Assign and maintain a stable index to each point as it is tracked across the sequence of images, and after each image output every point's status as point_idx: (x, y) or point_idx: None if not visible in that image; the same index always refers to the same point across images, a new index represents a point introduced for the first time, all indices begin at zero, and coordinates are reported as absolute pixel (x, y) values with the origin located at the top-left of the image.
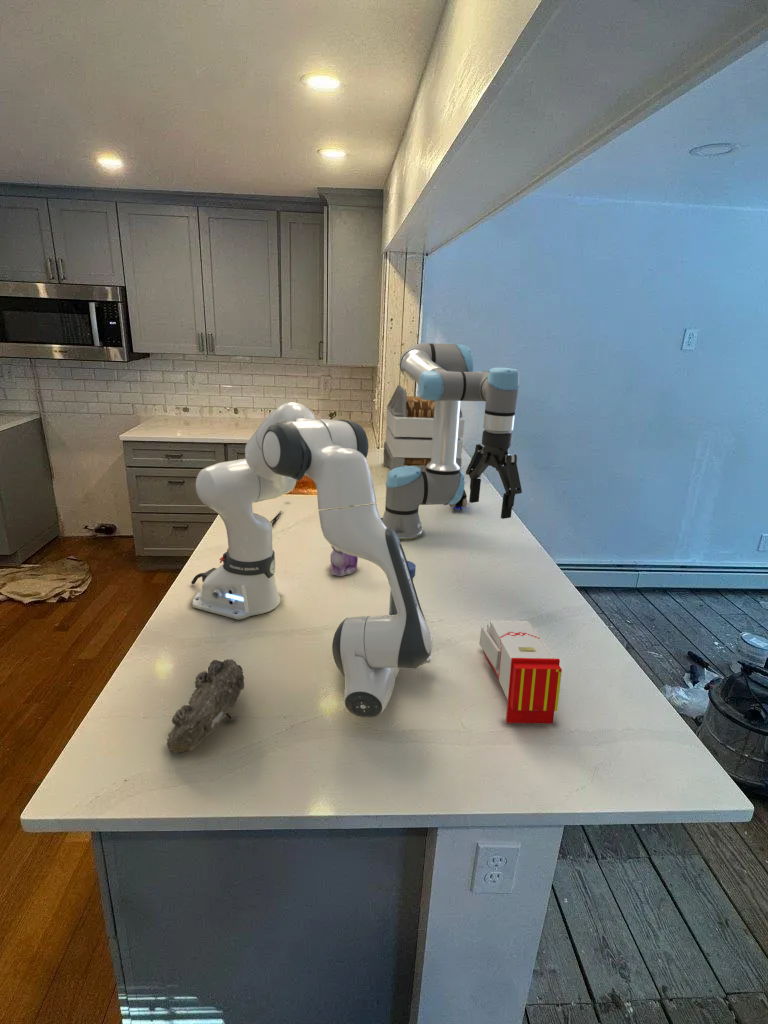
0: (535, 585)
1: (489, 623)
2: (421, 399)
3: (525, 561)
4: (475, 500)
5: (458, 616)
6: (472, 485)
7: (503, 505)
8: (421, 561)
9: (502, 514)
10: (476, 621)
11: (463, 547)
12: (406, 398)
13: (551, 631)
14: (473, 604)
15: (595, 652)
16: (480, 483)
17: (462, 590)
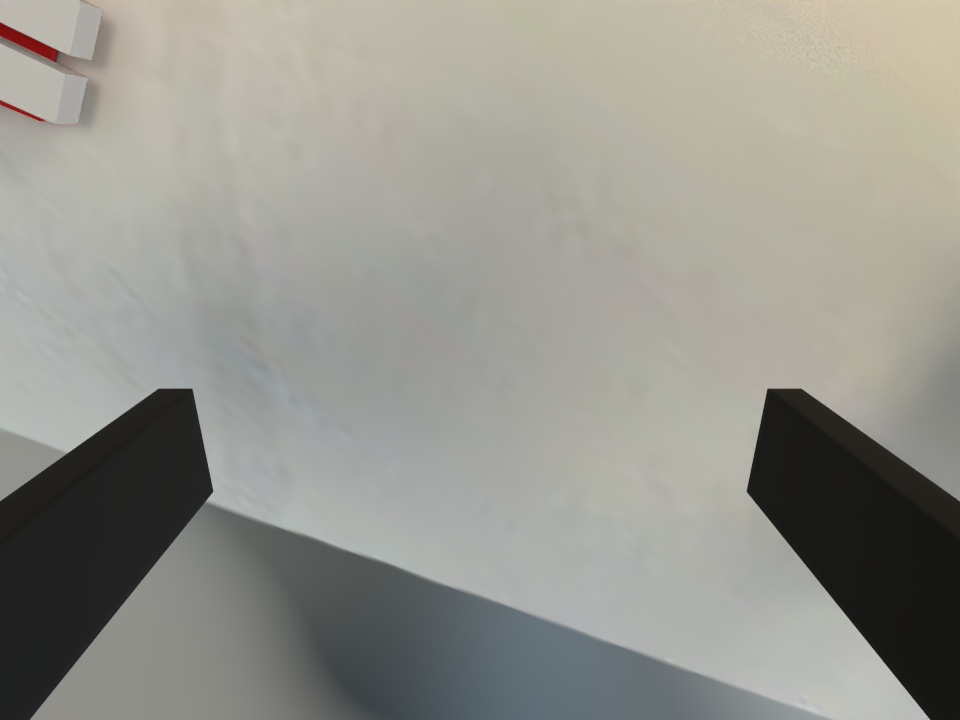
0: (456, 494)
1: (75, 10)
2: None
3: (626, 582)
4: (766, 461)
5: (356, 46)
6: (952, 535)
7: (55, 476)
8: (872, 202)
9: (137, 409)
10: (295, 98)
11: None
12: None
13: (155, 325)
14: (421, 178)
15: (8, 365)
16: (913, 696)
17: (543, 211)
